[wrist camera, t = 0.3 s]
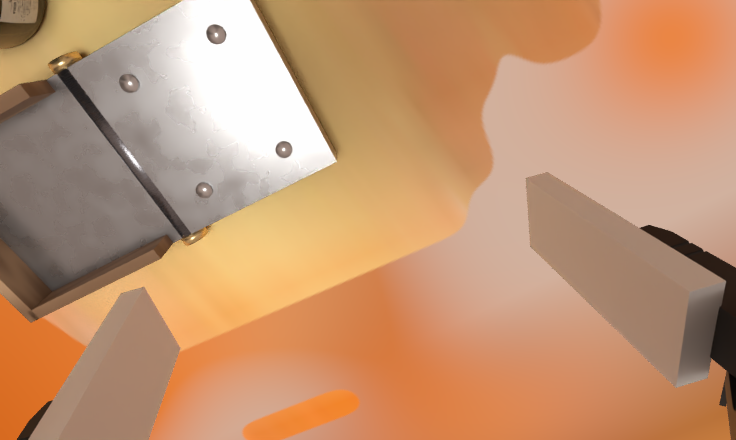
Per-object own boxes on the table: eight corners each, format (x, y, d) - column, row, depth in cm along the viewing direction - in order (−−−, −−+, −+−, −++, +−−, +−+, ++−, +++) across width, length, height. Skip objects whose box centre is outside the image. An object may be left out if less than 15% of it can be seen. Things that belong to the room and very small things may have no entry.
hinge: (-73, 142, 36) (-104, 150, 34) (234, -37, 33) (225, -43, 30) (73, 295, 43) (56, 311, 41) (341, 162, 39) (341, 171, 37)
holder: (-91, 159, 35) (-128, 170, 32) (46, 79, 33) (19, 84, 30) (51, 303, 41) (30, 322, 38) (173, 242, 39) (160, 258, 36)
